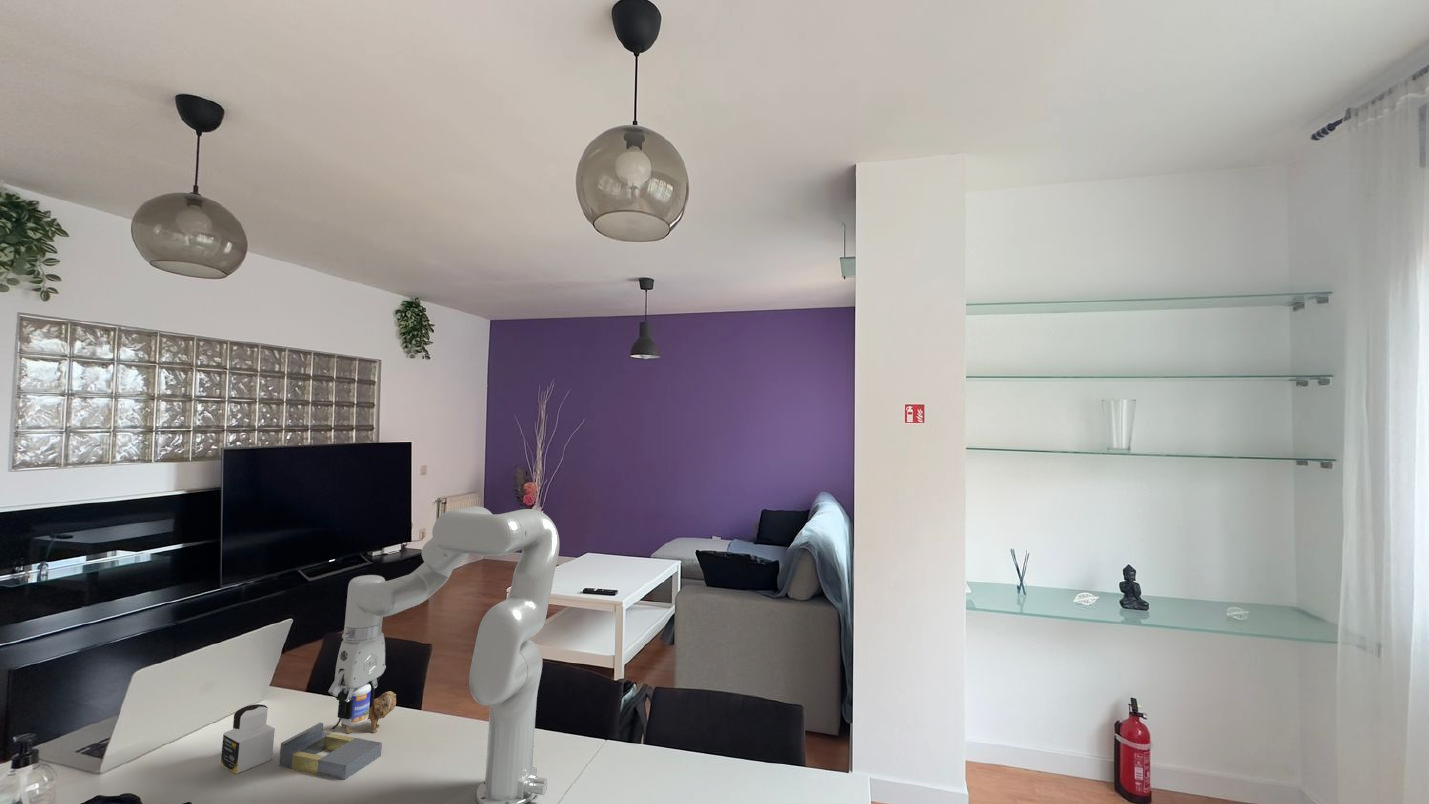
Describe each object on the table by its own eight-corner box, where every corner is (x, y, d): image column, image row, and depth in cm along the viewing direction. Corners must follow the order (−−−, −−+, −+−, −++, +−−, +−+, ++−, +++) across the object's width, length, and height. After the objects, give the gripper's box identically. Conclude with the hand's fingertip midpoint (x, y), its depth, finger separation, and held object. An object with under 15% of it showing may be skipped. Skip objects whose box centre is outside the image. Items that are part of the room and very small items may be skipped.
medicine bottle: (219, 765, 131) (224, 710, 132) (256, 750, 137) (261, 698, 138) (235, 774, 128) (240, 718, 128) (272, 759, 134) (277, 705, 135)
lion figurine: (397, 722, 153) (399, 687, 154) (391, 732, 148) (393, 696, 148) (334, 726, 150) (337, 690, 150) (325, 737, 144) (328, 699, 145)
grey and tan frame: (380, 756, 137) (382, 734, 137) (345, 779, 127) (347, 755, 128) (318, 743, 141) (320, 722, 142) (279, 765, 132) (281, 742, 132)
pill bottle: (355, 727, 130) (359, 682, 131) (335, 723, 132) (338, 679, 132) (374, 716, 136) (377, 673, 136) (354, 712, 137) (358, 670, 137)
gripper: (345, 645, 126) (337, 732, 125) (404, 622, 142) (397, 698, 141) (316, 641, 127) (308, 726, 126) (378, 618, 144) (371, 693, 143)
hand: (355, 711), depth 134 cm, fingers closed on pill bottle, 5 cm apart
